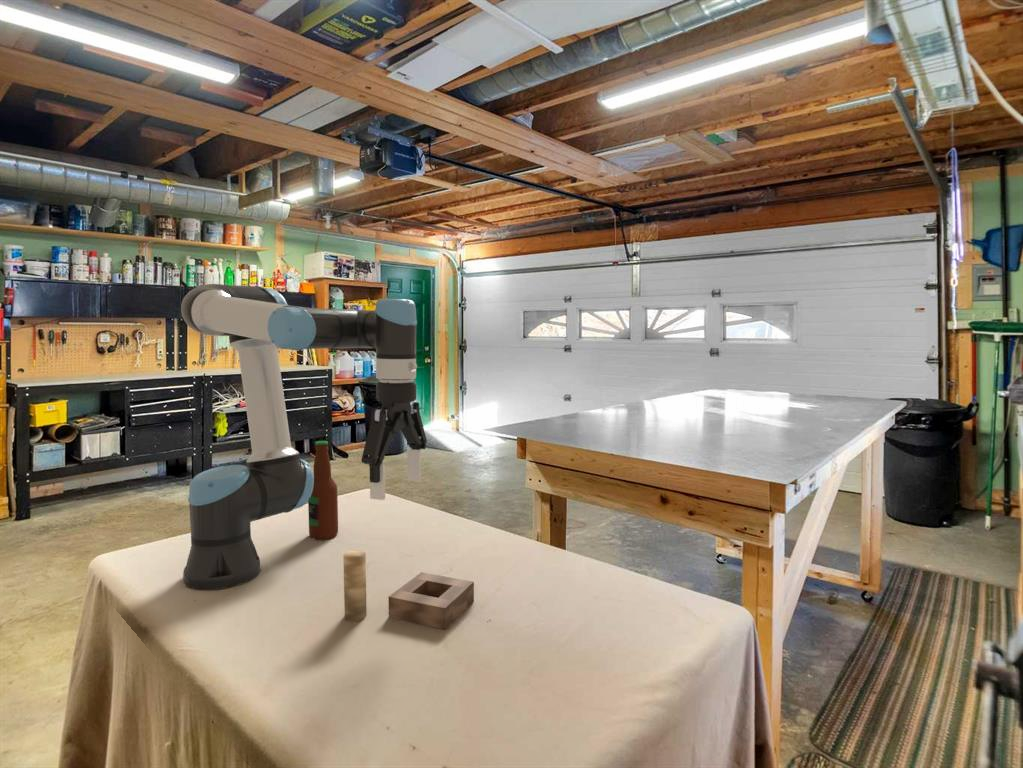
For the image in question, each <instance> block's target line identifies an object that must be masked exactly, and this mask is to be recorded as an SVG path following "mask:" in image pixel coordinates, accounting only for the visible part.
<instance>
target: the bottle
mask: <svg viewBox="0 0 1023 768" xmlns="http://www.w3.org/2000/svg"><path fill="white" fill-rule="evenodd" d="M314 444H315V447H314V448H315V449H314V450H315V454H314V462H313V470H312V472H313V478H314V486H313V491H312V494H311V497H310V498H309V500H308V502H307V504H308V511H307V512H308V534H309V537H310V538H312V539H313V540H319V541H320V540H329V539H332V538H334V537H336V536H337V534H338V533H339V509H338V508H339V505H338V504H339V503H338V502H339V501H338V485H337V484H336V481H334V478H333V477H332V468H331V467H332V466H331V465H332V464H331V460H330V456H329V452H328V450H329V446H328V445H329V442H328V441H327V440H317V441H315V443H314Z"/></svg>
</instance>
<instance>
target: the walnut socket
mask: <svg viewBox="0 0 1023 768" xmlns="http://www.w3.org/2000/svg"><path fill="white" fill-rule="evenodd" d="M474 601H475V581H471V580H466V579H460V578H456V577H450V576H444V575H437V574H432V573H428V572H419V573H418V574H417V575H415V576H414V577H413V578H411V579H410V580H409V581H407V582H406V583H405V584H404V585H402V586H401V587H400V588H398V589H397V590H395V591H394V592H393V593H391V594H390V595H389V596H388V618H392V619H396V620H400V621H406V622H409V623H414V624H419V625H422V626H428V627H431V628H432V627H433V628H438V629H441V630H442V629H443V630H447V628H448V627H449V626H450V625H451V624H452V623H453V622H455V620H457V618H459V616H461V614H462V613H464V612H465V610H467V609H468V608H469V606H470V605H471V604H473V603H474Z"/></svg>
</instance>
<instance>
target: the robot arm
mask: <svg viewBox="0 0 1023 768" xmlns="http://www.w3.org/2000/svg"><path fill="white" fill-rule="evenodd" d="M180 311H181V317H182V319H183V320H184V322H185V324H186V325H187V326H188V327H189V328H190V329H191V330H193V331H195V332H197V333H199V334H204V335H208V336H217V337H218V336H221V337H224V336H225V337H228V340H229V346H230V347H231V348H232V349H234V350H235V351H237V355H238V359H239V367H240V375H241V382H242V390H243V396H244V402H245V410H246V416H247V423H248V432H249V438H250V447H251V452H252V453H251V454H250V456H249V457H248V458H247V460H246V465H242V464H229V465H226V466H225V465H221V466H217V467H213V468H210V469H207V470H203V471H202V472H200V473H197V474H196V475H195V476H193V478H192V479H191V481H190V482H189V487H188V488H189V489H188V498H187V500H188V505H189V506H188V507H189V508H188V509H189V525H190V541H191V543H190V544H191V545H190V550H189V553H188V556H187V560H186V565H185V567H184V569H183V574H182V575H183V584H184V585H185V587H187V588H189V589H191V590H192V589H193V590H199V591H211V590H221V589H227V588H231V587H235V586H239V585H242V584H244V583H246V582H249V581H251V580H252V579H254V578H256V577H257V576H258V575H259V574H260V572H261V570H262V569H261V567H262V566H261V558H260V556H259V555H258V551H257V549H256V547H255V544H254V541H253V540H252V534H251V532H252V531H251V529H252V527H251V523H252V522H254V521H259V520H262V519H266V518H270V517H273V516H278V515H279V514H283V513H289V512H292V511H294V510H297V509H300V508H302V507H303V506H305V505H306V504H308V500H309V498H310V497H311V494H312V491H313V486H314V472H313V470H312V468H311V467H310V463H308V462H307V461H306V460H304V459H302V458H301V456H300V452H299V451H298V450H297V449H295V448H294V447H292V443H291V435H290V430H289V429H290V428H289V421H288V413H287V407H286V401H285V395H284V387H283V378H282V372H281V365H280V359H279V351H278V349H281V350H290V351H302V350H316V349H317V350H319V349H327V350H328V349H376V353H375V357H376V359H375V362H376V363H375V364H376V365H375V374H376V375H375V378H376V379H378V380H379V381H377V383H376V385H375V386H376V388H375V389H376V390H375V391H376V392H375V393H376V395H375V396H376V400H377V402H380V403H381V404H382V407H381V409H376V408H373V409H372V410H371V414H370V424H369V428H368V431H367V437H366V439H365V444H364V447H363V452H362V456H361V463H363V464H364V465H368V466H369V491H370V493H369V496H370V497H369V499H370V500H377V501H383V500H385V499H386V464H385V463H383V462H384V459H385V456H386V454H387V451H388V450H389V449H388V448H389V446H390V443H391V441H392V439H393V436H394V435H395V434H396V433H397V432H398V431H401V433H402V435H403V436H404V438H405V440H406V443H407V445H408V447H409V448H408V449H406V466H407V467H406V468H407V469H406V479H407V481H408V482H409V481H410V482H417V483H420V482H421V480H422V479H421V478H422V476H421V472H422V468H421V467H422V464H421V463H422V462H421V459H422V458H421V457H422V456H421V454H422V453H421V452H422V451H421V450H425V449H426V448H427V437H426V432H425V428H424V424H423V421H422V418H421V417H422V416H421V413H420V403H419V401H416V400H417V383H416V381H414V380H415V379H416V378H417V368H418V364H417V330H418V329H417V325H418V320H417V309H416V304H415V302H414V301H413V300H411V299H406V298H405V299H404V298H379V299H378V300H376V302H375V309H348V308H347V309H346V308H344V309H342V308H319V307H317V308H316V307H304V306H298V305H289V304H288V302H287V300H286V299H285V297H284V296H283V295H282V294H281V293H280V292H278V290H277V289H274V288H269V287H264V286H259V285H255V286H252V285H235V284H234V285H233V284H222V283H221V284H220V283H207V284H202V285H198V286H196V287H195V288H193V289H191V290H190V291H188V293H187V294H186V295H185V296H184V297H183V299H182V301H181V308H180Z"/></svg>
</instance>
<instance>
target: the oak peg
mask: <svg viewBox="0 0 1023 768" xmlns="http://www.w3.org/2000/svg"><path fill="white" fill-rule="evenodd" d="M366 555H367V554H366V551H364V550H349V551H347V552H345V553H344V554H343V596H344V597H343V598H344V600H343V601H344V619H345V620H346V621H348V622H359V621H361V620H364V619H366V617H367V615H368V613H367V611H368V609H367V608H368V607H367V566H366V565H367V564H366V563H367V560H366V559H367V558H366V557H367V556H366Z"/></svg>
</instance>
